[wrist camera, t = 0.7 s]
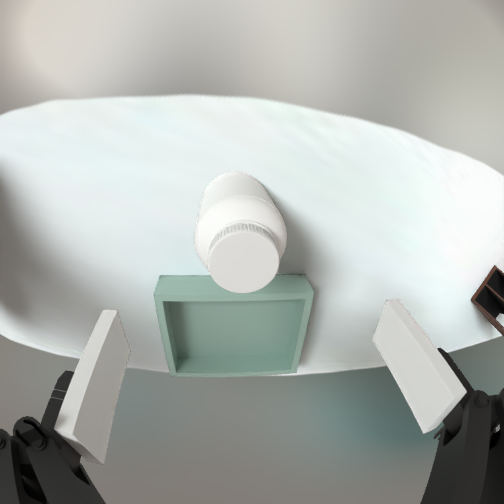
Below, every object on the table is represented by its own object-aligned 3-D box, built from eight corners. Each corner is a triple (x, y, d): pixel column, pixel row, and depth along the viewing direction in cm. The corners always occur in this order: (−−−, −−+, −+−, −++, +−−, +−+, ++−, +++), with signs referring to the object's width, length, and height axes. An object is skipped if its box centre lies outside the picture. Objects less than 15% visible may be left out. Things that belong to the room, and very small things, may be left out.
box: (173, 356, 44) (170, 376, 40) (159, 275, 37) (153, 294, 33) (290, 353, 46) (296, 372, 42) (305, 274, 39) (314, 292, 35)
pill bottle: (221, 244, 36) (223, 322, 22) (189, 190, 32) (166, 243, 19) (278, 216, 35) (313, 280, 21) (249, 158, 31) (271, 188, 18)
